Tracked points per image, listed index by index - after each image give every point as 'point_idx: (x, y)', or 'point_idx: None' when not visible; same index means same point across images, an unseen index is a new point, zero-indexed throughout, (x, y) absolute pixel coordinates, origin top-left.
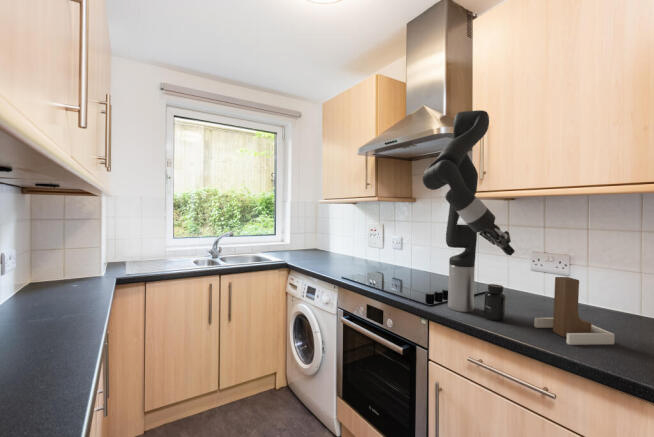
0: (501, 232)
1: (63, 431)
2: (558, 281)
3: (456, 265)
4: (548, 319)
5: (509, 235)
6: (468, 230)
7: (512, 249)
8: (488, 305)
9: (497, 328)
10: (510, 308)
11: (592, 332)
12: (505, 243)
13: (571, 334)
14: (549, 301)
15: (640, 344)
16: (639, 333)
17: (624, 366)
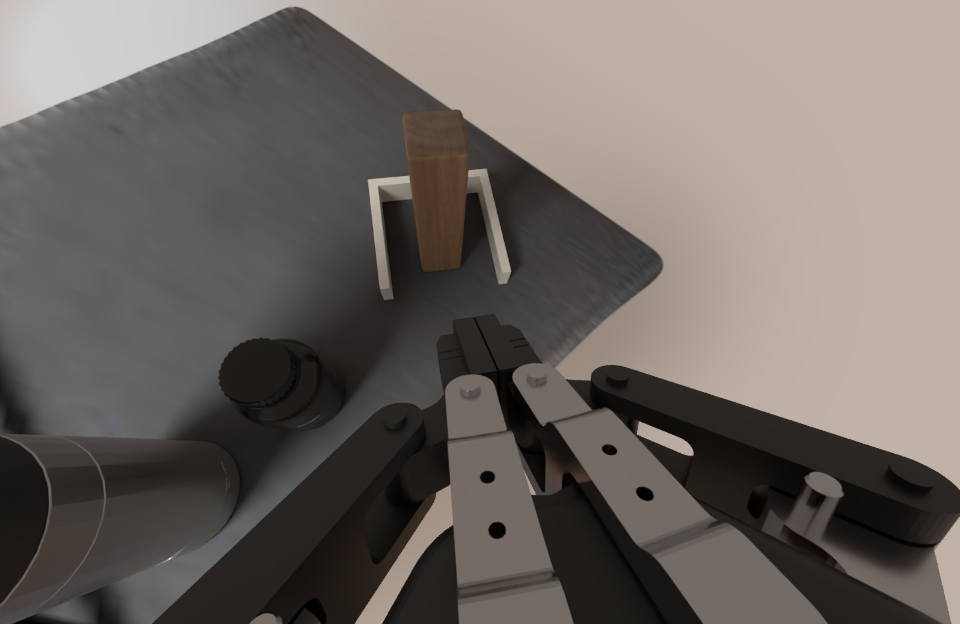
0: (930, 592)
1: None
2: (432, 168)
3: None
4: (385, 254)
5: (811, 429)
6: None
7: (523, 340)
8: (308, 420)
9: None
10: (201, 286)
11: None
12: (681, 456)
13: (509, 266)
14: (134, 124)
15: (475, 137)
16: (409, 94)
17: (598, 243)
